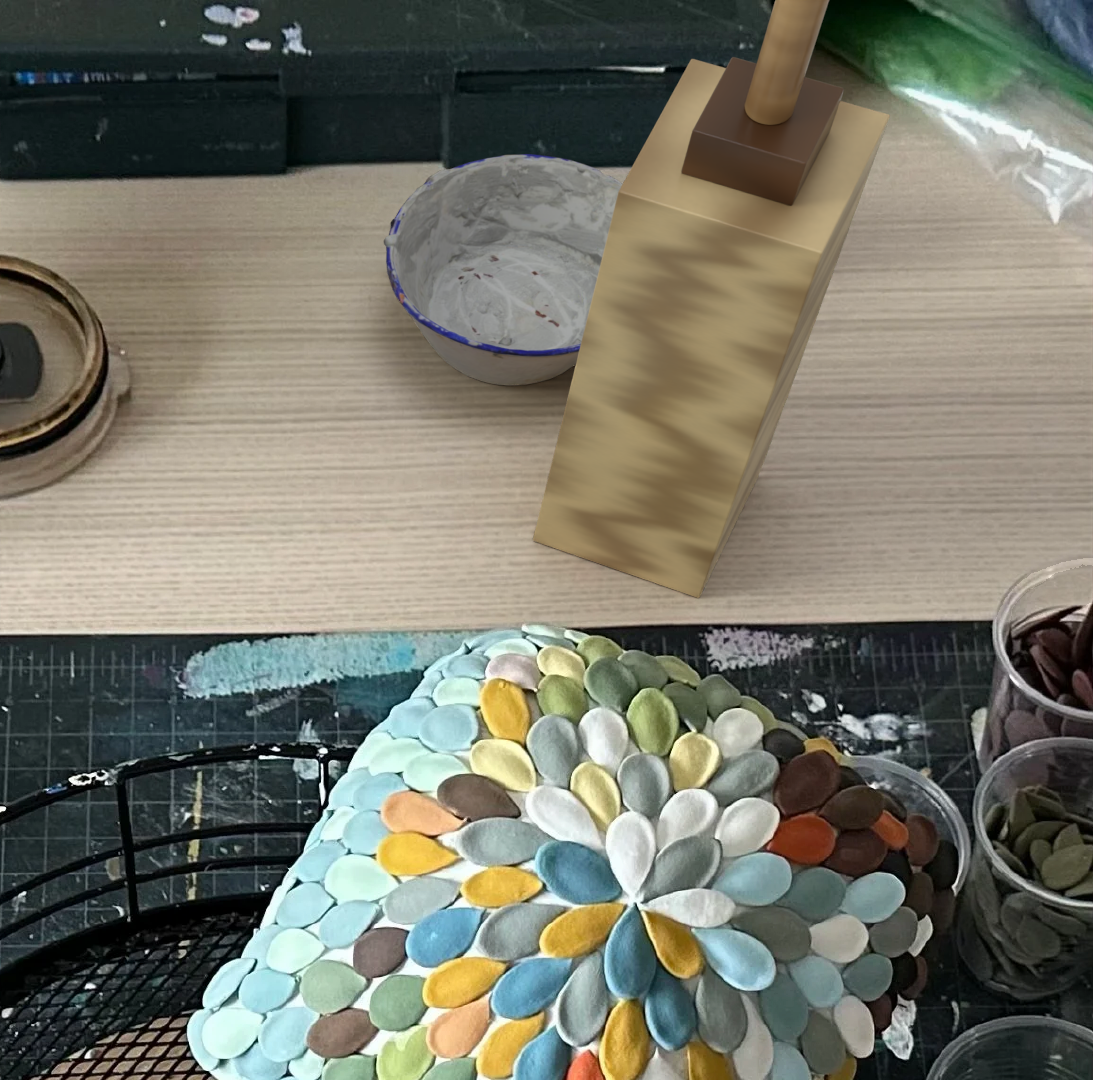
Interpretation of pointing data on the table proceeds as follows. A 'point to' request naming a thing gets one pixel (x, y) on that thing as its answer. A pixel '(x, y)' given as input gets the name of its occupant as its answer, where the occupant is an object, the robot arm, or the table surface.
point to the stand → (693, 347)
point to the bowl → (503, 263)
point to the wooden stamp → (767, 112)
